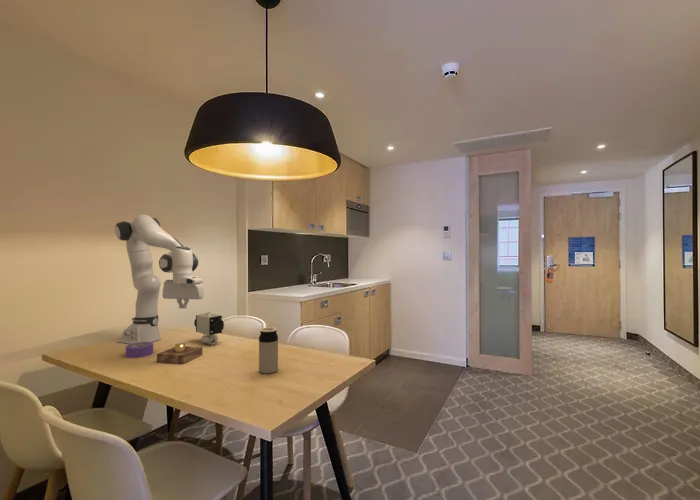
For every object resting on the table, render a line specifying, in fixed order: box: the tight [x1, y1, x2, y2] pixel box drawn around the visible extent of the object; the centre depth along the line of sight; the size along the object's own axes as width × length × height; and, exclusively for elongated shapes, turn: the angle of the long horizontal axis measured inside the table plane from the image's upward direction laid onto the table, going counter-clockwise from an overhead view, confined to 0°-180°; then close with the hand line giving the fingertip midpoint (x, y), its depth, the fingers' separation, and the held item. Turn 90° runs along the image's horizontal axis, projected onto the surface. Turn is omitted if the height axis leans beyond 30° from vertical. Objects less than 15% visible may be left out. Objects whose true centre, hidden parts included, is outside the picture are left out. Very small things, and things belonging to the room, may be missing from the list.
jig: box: [156, 345, 203, 365], centre depth 163 cm, size 14×14×4 cm
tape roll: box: [125, 342, 154, 359], centre depth 170 cm, size 12×12×5 cm
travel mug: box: [258, 326, 279, 375], centre depth 146 cm, size 8×8×18 cm
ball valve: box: [193, 311, 225, 346], centre depth 190 cm, size 18×8×18 cm, turn 56°
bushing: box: [174, 342, 186, 352], centre depth 163 cm, size 4×4×7 cm
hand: (182, 308), depth 164 cm, fingers closed
